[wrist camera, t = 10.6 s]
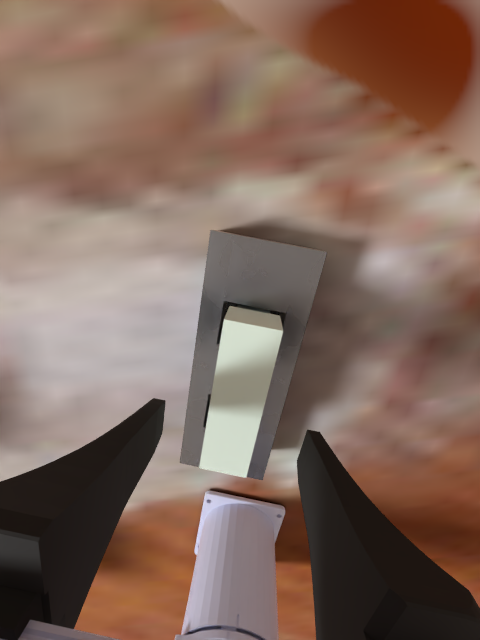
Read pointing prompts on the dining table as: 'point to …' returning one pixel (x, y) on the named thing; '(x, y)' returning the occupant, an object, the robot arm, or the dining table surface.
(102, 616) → the dining table surface
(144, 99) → the dining table surface
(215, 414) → the notched cream block
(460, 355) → the dining table surface
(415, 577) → the robot arm
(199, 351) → the grey block with holes
